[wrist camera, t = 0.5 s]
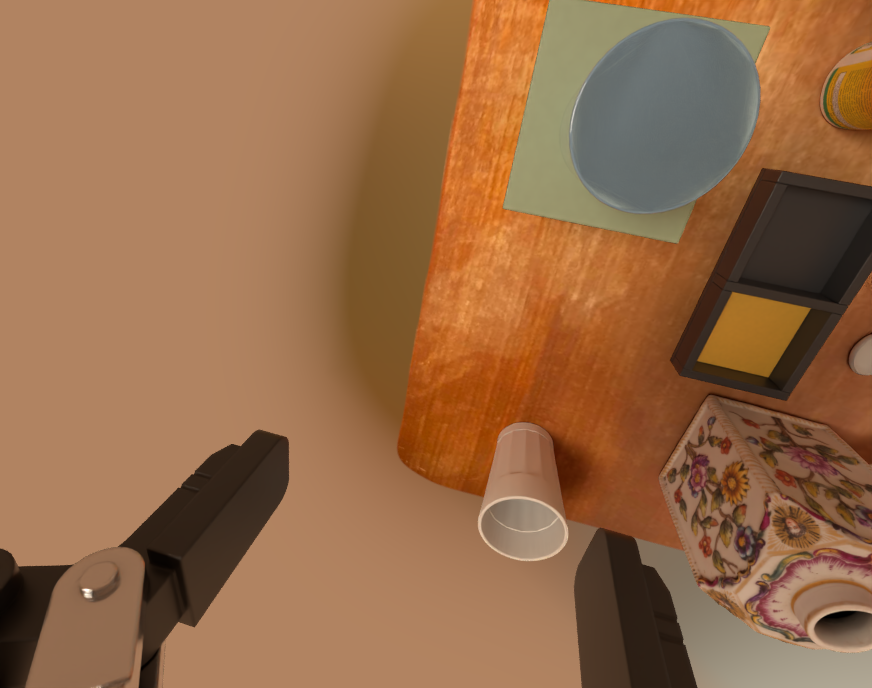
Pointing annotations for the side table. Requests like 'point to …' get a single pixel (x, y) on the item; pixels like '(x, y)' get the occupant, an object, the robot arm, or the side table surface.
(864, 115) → the supplement bottle
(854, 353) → the spoon
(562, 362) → the side table surface
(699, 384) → the side table surface
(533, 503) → the cup
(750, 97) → the blue grey cylinder
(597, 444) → the side table surface
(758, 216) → the tray
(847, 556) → the decorative jar
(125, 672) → the robot arm
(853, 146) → the side table surface
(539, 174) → the shelf
